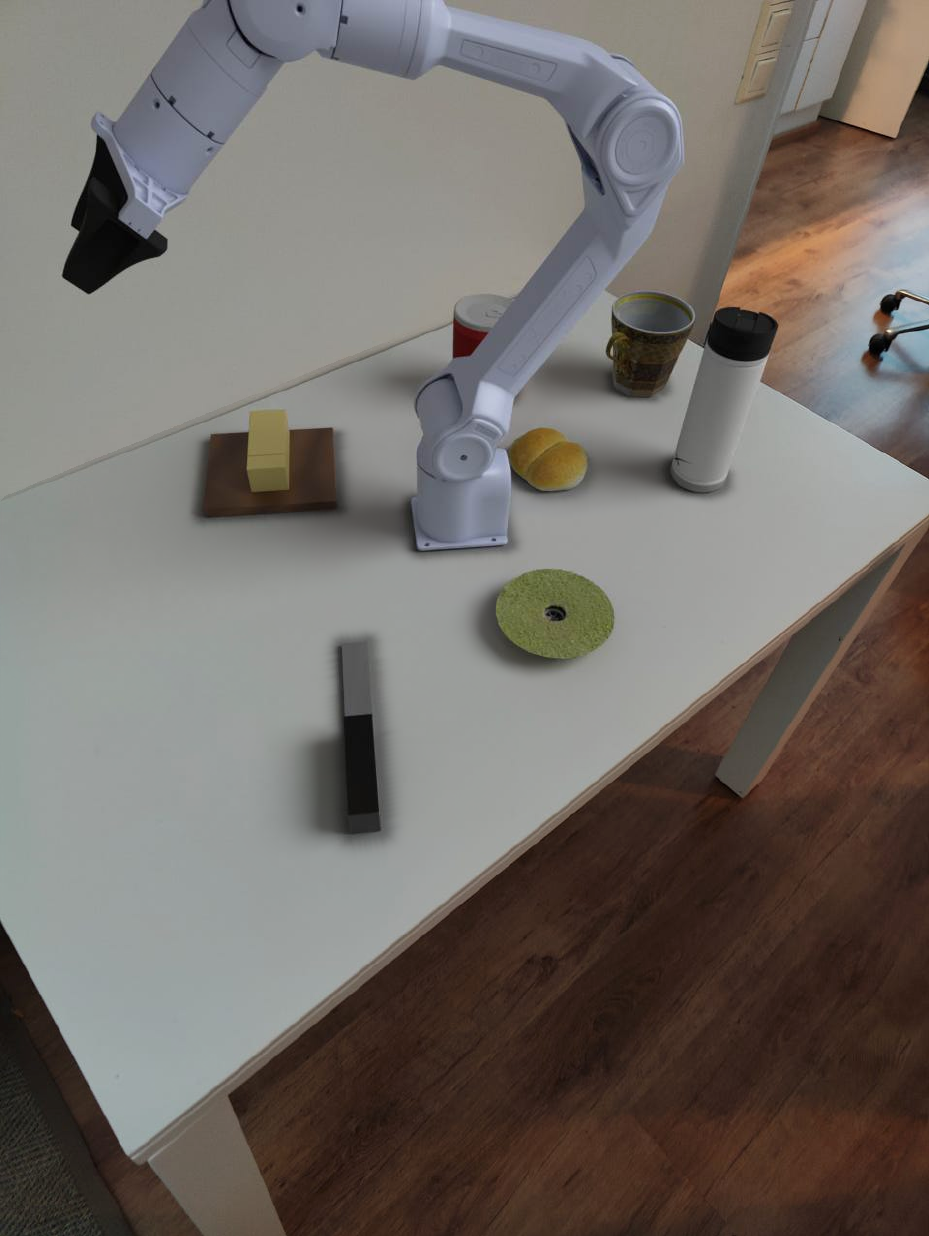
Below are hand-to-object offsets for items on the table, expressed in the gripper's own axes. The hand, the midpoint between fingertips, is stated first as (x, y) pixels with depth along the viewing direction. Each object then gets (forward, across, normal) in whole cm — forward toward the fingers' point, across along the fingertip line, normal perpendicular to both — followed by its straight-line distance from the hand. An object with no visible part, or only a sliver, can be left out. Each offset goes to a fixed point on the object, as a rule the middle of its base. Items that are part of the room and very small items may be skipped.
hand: (79, 257), depth 60 cm
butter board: (+14, -10, +30) cm, 34 cm away
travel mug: (-20, -2, +62) cm, 65 cm away
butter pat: (+13, -7, +28) cm, 32 cm away
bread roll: (-8, -6, +51) cm, 52 cm away
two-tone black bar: (+10, +25, +32) cm, 42 cm away
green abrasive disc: (-4, +17, +46) cm, 49 cm away
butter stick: (+13, -13, +29) cm, 34 cm away
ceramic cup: (-19, -20, +62) cm, 67 cm away
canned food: (-5, -22, +48) cm, 54 cm away
